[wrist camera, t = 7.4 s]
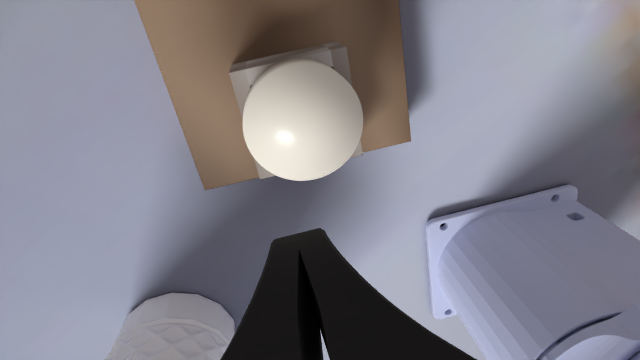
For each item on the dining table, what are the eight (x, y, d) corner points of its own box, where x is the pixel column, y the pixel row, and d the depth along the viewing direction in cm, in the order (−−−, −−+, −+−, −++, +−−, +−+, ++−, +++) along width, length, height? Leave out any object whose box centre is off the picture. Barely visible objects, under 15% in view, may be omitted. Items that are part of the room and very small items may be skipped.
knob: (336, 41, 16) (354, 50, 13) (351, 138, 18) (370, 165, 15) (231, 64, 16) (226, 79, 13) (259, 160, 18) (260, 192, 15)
